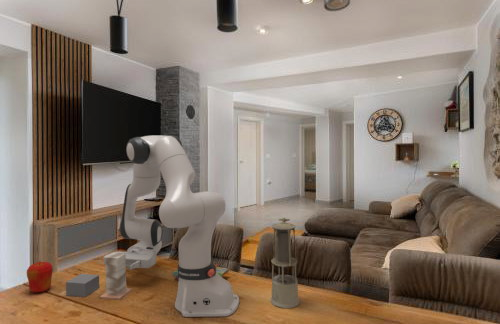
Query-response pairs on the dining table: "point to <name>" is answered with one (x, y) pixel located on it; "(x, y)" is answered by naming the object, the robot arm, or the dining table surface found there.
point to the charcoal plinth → (82, 285)
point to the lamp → (283, 284)
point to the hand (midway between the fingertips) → (118, 266)
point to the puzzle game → (218, 270)
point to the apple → (39, 276)
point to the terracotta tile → (116, 296)
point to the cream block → (115, 274)
